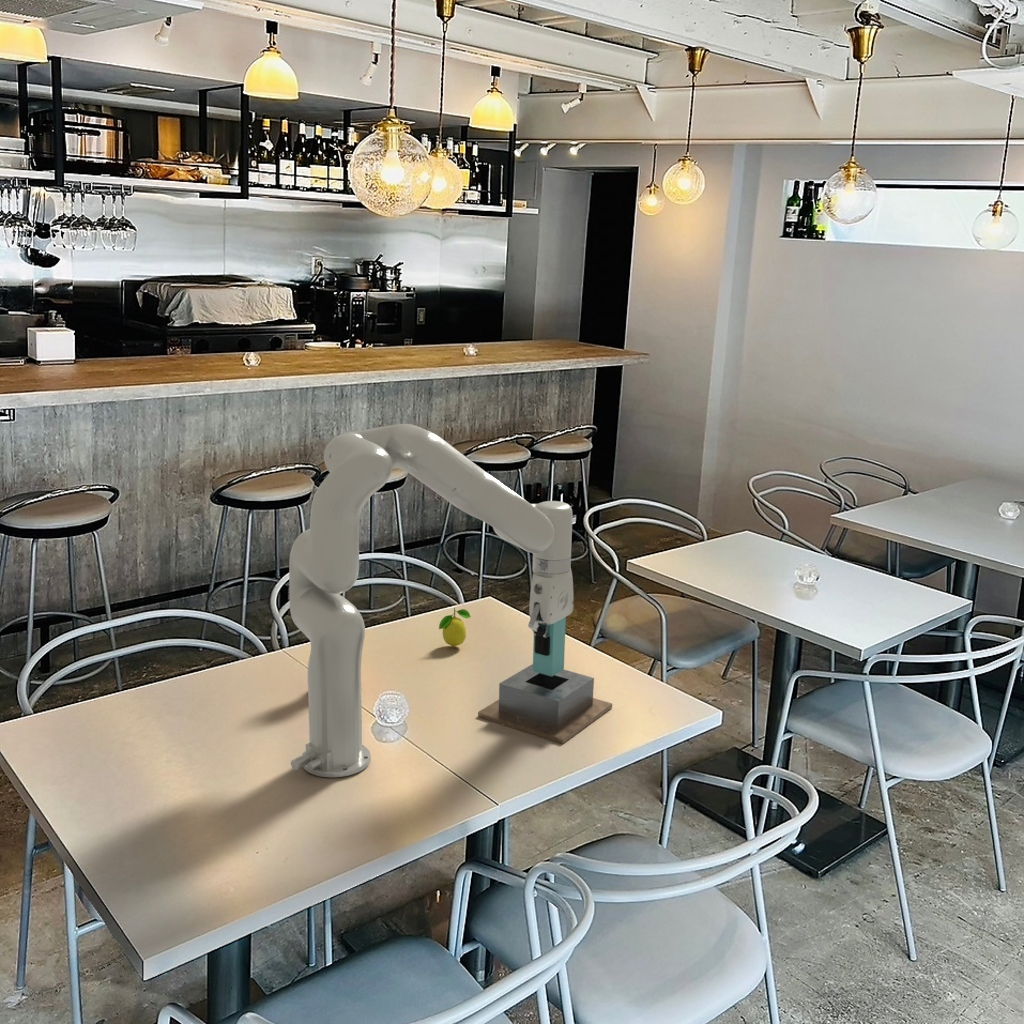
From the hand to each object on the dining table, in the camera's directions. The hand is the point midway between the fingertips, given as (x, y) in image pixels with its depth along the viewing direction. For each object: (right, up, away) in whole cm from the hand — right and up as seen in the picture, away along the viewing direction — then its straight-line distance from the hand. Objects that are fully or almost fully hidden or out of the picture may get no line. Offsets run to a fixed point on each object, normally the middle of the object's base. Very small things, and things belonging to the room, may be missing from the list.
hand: (549, 649), depth 214 cm
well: (-1, -13, +3) cm, 14 cm away
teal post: (0, -4, +1) cm, 5 cm away
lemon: (-21, -4, +36) cm, 42 cm away
